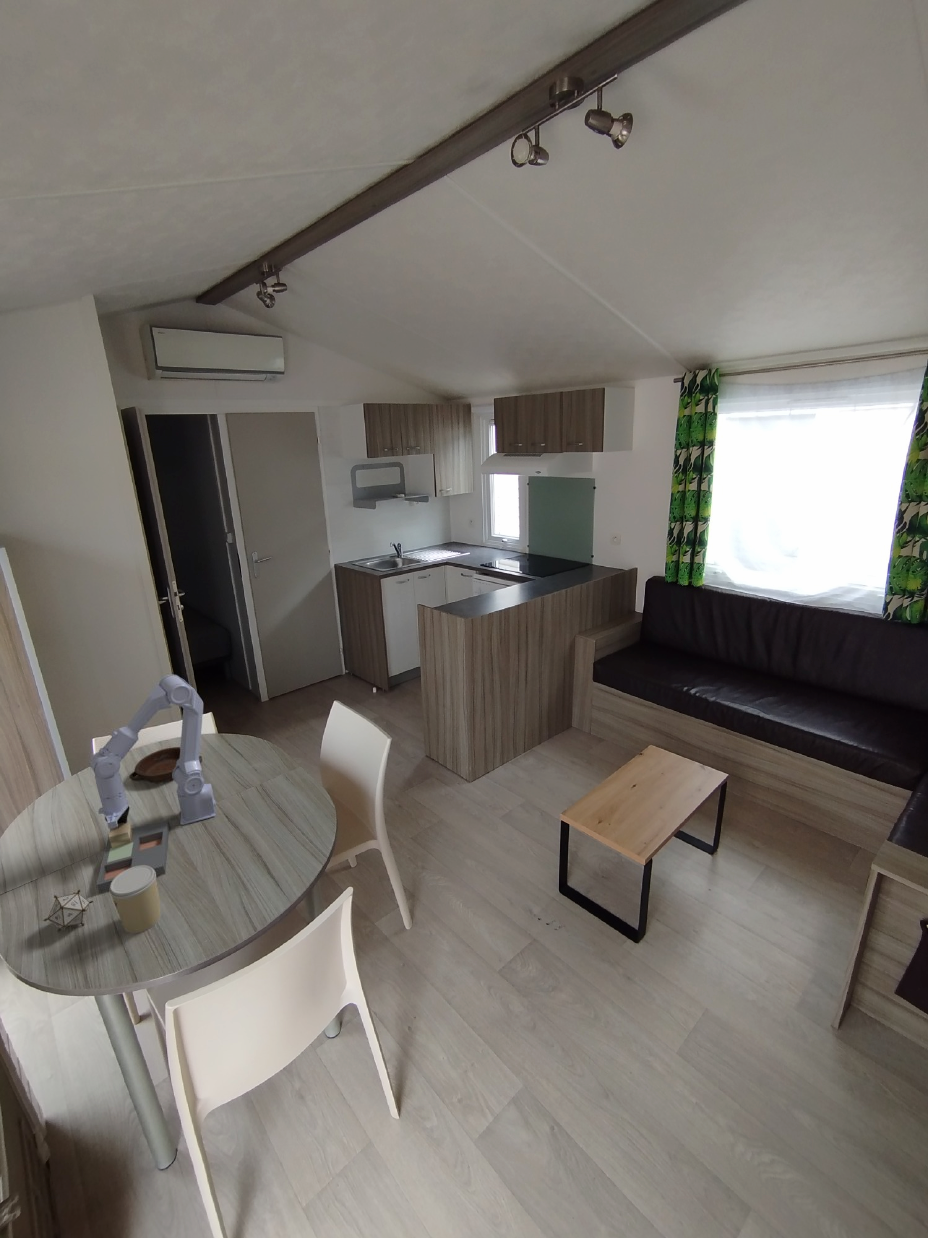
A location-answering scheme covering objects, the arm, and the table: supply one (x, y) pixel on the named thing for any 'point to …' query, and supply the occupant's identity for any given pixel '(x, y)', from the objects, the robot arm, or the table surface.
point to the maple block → (120, 834)
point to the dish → (157, 766)
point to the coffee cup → (136, 898)
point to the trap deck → (136, 853)
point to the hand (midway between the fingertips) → (122, 834)
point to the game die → (68, 910)
